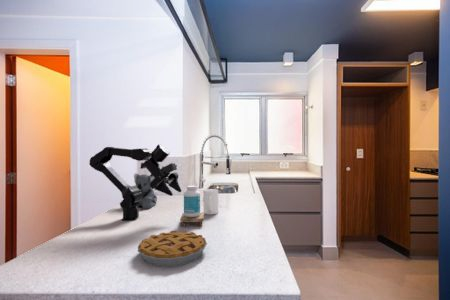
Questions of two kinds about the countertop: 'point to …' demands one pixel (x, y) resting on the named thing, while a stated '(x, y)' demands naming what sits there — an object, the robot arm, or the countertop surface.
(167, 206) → the countertop surface
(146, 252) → the pie
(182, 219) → the square wooden stand
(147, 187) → the koala plush
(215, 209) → the mug
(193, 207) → the pill bottle
